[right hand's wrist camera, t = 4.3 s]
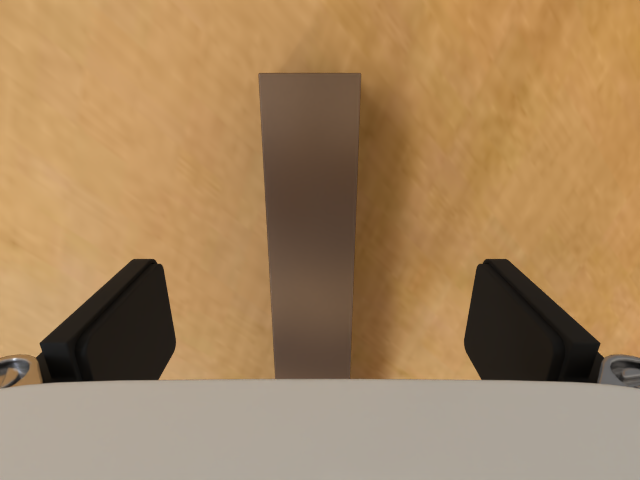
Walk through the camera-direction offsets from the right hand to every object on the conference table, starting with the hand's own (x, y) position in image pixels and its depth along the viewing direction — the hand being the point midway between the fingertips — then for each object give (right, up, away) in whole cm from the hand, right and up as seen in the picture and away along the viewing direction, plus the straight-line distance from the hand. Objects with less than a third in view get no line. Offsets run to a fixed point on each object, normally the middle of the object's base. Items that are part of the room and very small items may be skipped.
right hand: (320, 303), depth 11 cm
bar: (0, -27, +26) cm, 37 cm away
